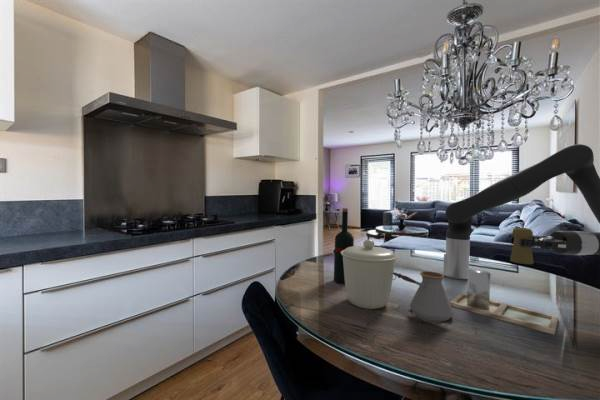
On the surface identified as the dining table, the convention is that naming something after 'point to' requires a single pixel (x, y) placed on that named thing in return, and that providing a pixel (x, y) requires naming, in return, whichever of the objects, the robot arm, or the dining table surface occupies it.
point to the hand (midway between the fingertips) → (515, 241)
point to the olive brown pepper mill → (519, 252)
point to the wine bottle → (341, 248)
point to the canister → (368, 274)
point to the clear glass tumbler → (478, 289)
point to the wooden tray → (512, 314)
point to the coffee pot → (430, 298)
